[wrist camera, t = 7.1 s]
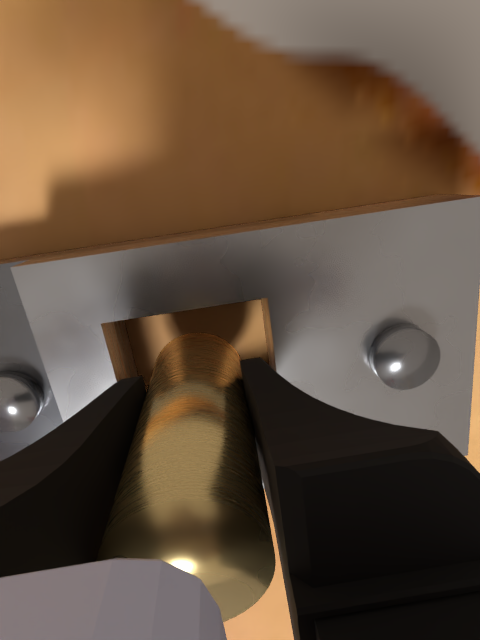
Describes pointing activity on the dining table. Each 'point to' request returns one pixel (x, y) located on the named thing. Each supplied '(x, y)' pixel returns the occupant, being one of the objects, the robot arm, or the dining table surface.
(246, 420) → the brass pin
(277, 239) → the grey plate with knobs
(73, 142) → the dining table surface
